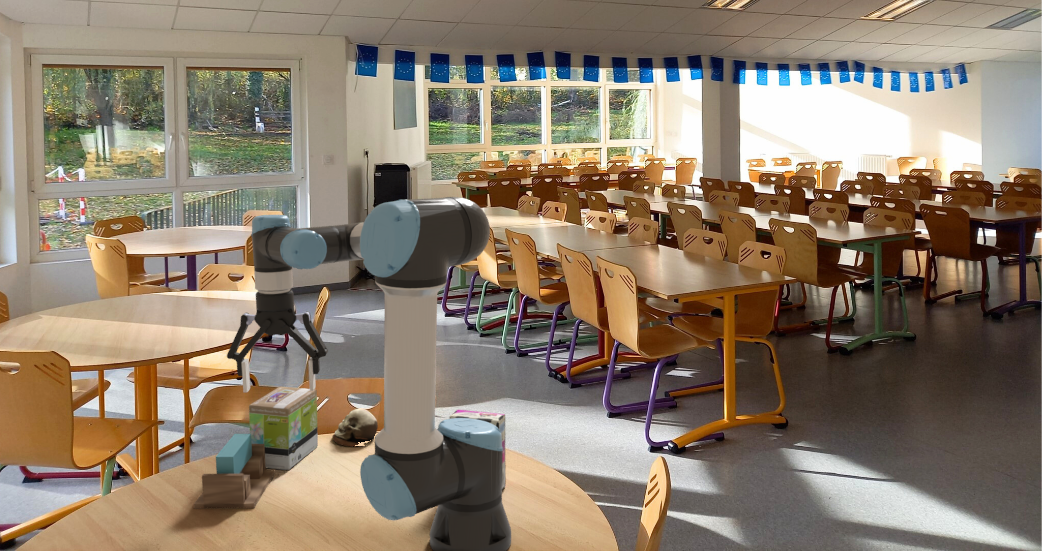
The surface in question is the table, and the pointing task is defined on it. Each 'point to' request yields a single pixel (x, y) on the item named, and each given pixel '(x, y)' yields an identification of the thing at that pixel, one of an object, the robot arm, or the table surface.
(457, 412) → the candy bar box
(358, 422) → the skull
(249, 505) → the cradle
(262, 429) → the tea box
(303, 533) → the table surface
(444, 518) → the robot arm
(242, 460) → the long teal rectangular block
